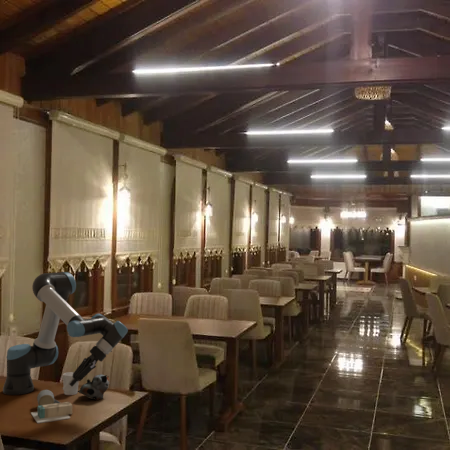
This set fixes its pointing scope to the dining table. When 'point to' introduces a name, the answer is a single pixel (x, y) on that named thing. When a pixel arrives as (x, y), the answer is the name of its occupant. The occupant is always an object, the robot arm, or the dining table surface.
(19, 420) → the dining table surface
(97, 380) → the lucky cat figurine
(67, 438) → the dining table surface
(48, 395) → the ceramic mug
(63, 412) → the beige long block
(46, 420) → the grey mat
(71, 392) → the white cup
